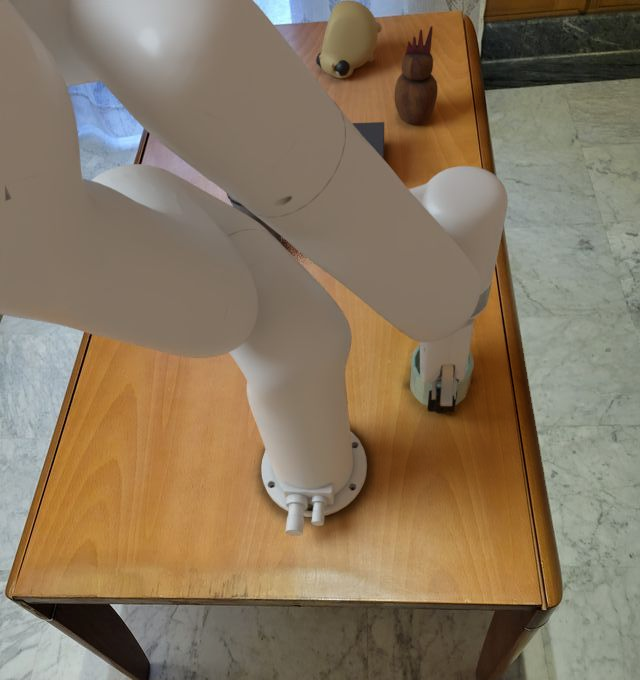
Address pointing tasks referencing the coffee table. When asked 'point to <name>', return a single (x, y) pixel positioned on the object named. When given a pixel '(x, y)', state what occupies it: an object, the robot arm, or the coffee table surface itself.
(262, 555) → the coffee table surface
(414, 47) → the wooden figurine
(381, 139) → the block
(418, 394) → the bowl
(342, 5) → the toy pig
